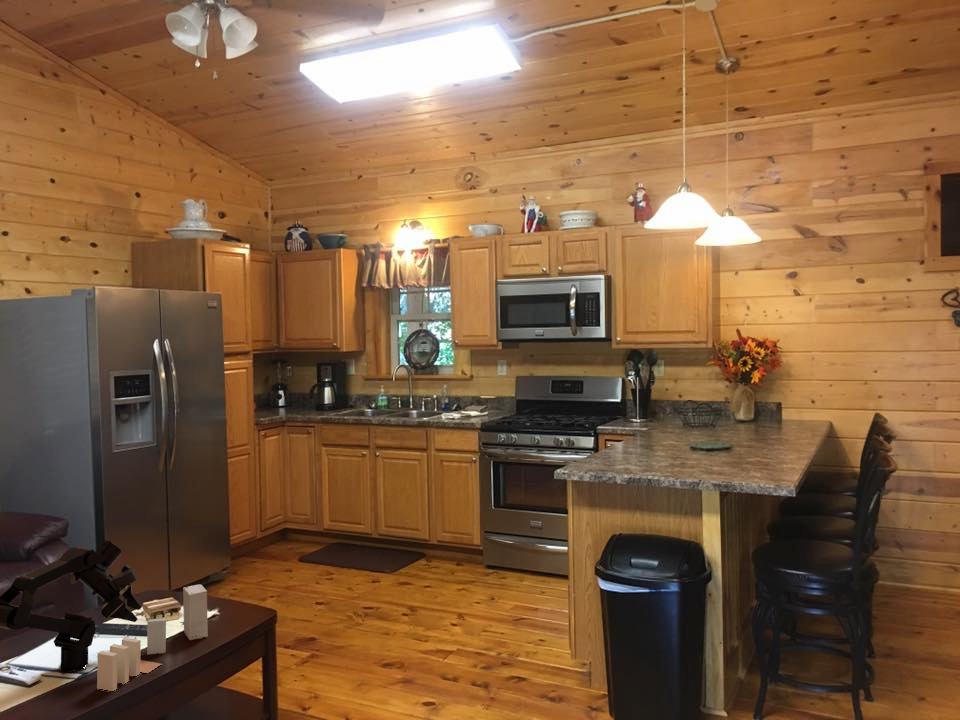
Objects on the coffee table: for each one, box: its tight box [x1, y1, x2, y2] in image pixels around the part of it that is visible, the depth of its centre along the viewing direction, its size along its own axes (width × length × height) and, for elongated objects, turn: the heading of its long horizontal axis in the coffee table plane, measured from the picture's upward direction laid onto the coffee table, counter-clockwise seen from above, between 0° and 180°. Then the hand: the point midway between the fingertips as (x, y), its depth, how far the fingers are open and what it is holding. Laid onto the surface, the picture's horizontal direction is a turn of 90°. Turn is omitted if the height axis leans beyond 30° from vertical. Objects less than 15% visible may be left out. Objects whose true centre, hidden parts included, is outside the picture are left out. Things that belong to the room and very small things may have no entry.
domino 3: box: [121, 637, 142, 677], centre depth 214 cm, size 2×5×10 cm, turn 74°
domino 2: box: [109, 643, 130, 685], centre depth 209 cm, size 2×5×10 cm, turn 74°
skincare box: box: [182, 584, 209, 641], centre depth 241 cm, size 8×6×15 cm
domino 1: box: [96, 650, 118, 692], centre depth 205 cm, size 2×5×10 cm, turn 74°
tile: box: [140, 659, 163, 674], centre depth 218 cm, size 9×6×1 cm, turn 74°
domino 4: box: [146, 617, 167, 655], centre depth 228 cm, size 2×5×10 cm, turn 107°
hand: (138, 614), depth 226 cm, fingers open, 9 cm apart
